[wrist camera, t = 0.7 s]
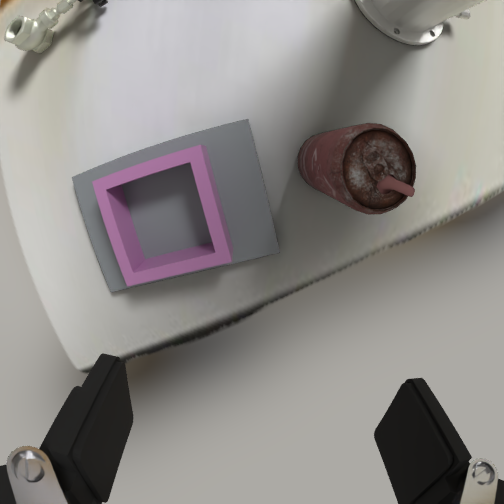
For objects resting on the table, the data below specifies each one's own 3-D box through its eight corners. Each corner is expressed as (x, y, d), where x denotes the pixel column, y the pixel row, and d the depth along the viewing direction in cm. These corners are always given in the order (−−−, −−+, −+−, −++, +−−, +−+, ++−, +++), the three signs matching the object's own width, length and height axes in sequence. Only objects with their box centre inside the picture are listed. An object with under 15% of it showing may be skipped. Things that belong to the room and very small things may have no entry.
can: (344, 198, 32) (407, 230, 19) (289, 179, 31) (323, 200, 18) (360, 146, 30) (433, 147, 17) (306, 125, 29) (352, 107, 16)
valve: (37, 67, 25) (113, 9, 24) (6, 58, 19) (91, -13, 18) (27, 36, 23) (99, -19, 22) (-1, 25, 17) (77, -41, 16)
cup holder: (247, 120, 29) (248, 113, 24) (278, 248, 33) (285, 266, 28) (78, 176, 30) (52, 181, 25) (115, 287, 34) (97, 308, 29)
